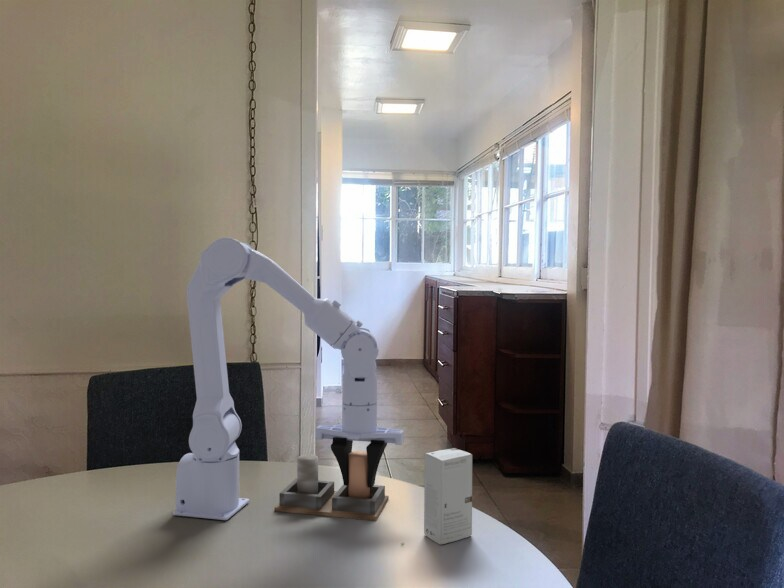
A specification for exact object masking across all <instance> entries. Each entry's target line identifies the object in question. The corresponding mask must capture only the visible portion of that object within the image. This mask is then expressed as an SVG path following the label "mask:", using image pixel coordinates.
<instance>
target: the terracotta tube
mask: <svg viewBox="0 0 784 588" xmlns="http://www.w3.org/2000/svg"><path fill="white" fill-rule="evenodd" d="M367 479H368V459H367V451H366V450H365V451H364V450H353V451H352V452H350V453H349V497H351V498H362V499H368V498H369V497H370V487H368V484H367Z"/></svg>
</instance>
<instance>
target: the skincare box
mask: <svg viewBox="0 0 784 588" xmlns="http://www.w3.org/2000/svg"><path fill="white" fill-rule="evenodd" d="M423 490H424V492H423V493H424V501H423V502H424V503H423V504H424V505H423V510H424V512H423V517H424V518H423V534H424V536H426V537H427V538H429V539H430V540H432V541H433V542H434V543H436V544H438V545H439V546H440V545H445V544H448V543H452V542H456V541H460V540H462V539H467V538H469V537H471V536H472V535H473V454H472V453H470V452H468V451H465V450H461V449H458V448H456V447H453V448H447V449H439V450H436V451H435V450H434V451H432V452H431V451H430V452H425V454H424V489H423Z"/></svg>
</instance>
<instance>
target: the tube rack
mask: <svg viewBox="0 0 784 588" xmlns="http://www.w3.org/2000/svg"><path fill="white" fill-rule="evenodd" d="M296 460H297V461H296V464H297V465H296V467H297V468H296V469H297V470H296V473H297V474H296V475H297V476H296V477H297V478H295V479H293V480H292V481H291V482H290V483H289V484H288V485H287V486H286V487H285V488H283V489H282V490H281V491H280V492H279V501H278V502H279V503H277V504H276V505H275V506H274V512H281V513H282V512H283V513H289V514H290V513H291V514H292V513H293V514H302V515H303V514H304V515H311V516H312V515H314V516H321V517H322V516H325V517H334V518H345V519H354V520H366V521H375V522H376V521H377V520H378V518H379V516H380V515H381V513H382V512H383V509H384V508H385V506H386V504H387V503H388V501H389V500H390V499H389V495H386V486H385V485H378V484H374V485H373V487H372V488H370V497H369V498H368V499H362V498H351V497H349V485H348V486H346V485H344V483H343V484H342V485H341V486H340V488H339V489H338V490H337V491H336V490H335V481H329V480H328V481H327V480H319V456H318V455H316V454H303V455H299V456H297V459H296Z"/></svg>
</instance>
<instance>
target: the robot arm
mask: <svg viewBox="0 0 784 588" xmlns="http://www.w3.org/2000/svg"><path fill="white" fill-rule="evenodd" d="M243 280H250V281H255V282H260V283H264V284H266V285H267V286H268V287H269V288H271V289H272V290H274V291H275V292H277V294H279V295H280V296H281V297H283V298H284V299H285V300H287V301H288V302H289V303H290V304H292V305H293V306H294V307H296V308H297V309H298V310H300V311H301V312H302V313H303V315H304V324H305V326H306V327H308V328H309V329H310V330H311V331H312V332H313V333H314V334H316V335H317V336H318V337H320V339H322V340H323V341H324V342H326V344H328V345H329V346H330V347H332V348H333V349H335V350H340V354H341V357H342V359H343V364H344V365H343V374H342V376H341V377H342V385H341V386H342V387H341V389H342V394H341V395H342V396H341V397H342V399H341V400H342V401H341V402H342V404H341V405H342V406H341V408H342V409H341V410H342V412H341V415H342V416H341V424H342V425H341V424H335V425H333V424H332V425H331V424H329V425H327V424H326V425H325V424H324V425H322V424H320V425H318V426H317V427H315V440H321V441H322V440H324V439H325V440H332V441H331V442H332V443H331V444H330V449H331V452H332V454H333V456H334V457H335V459H336V462H337V463H338V467H339V469H340V473H341V476H342V477H341V478H342V481H343V484H344V485H346V486H348V485H349V453H350V452H353V443H354V442H367V443H368V442H370V443H368V444H367V446H366V449H365V451H366V452H367V459H368V479H367V484H368V487H370V488H372V487H373V485H376V484H375V483H376V476H377V471H378V468H379V464H380V461H381V460H382V456H383V454H384V452H385V450H386V447H387V445H388V444H394V445H396V446H398V445H399V446H402V444H403V443H404V435H405V434H404V432H405V431H404V429H395V428H389V427H382V426H377V425H378V424H377V423H378V419H377V418H378V375H377V373H376V371H377V369H378V368H377V362H376V360H377V359H378V358H377V357H378V355H379V352H380V351H379V348H378V343H377V342H378V341H377V340H376V337H375V336H374V334H373V333H372V332H371V331H370V329H368V328H364V327H362V326H363V323H362V322H361V321H360V320H359V319H358V320H357V321H356V320H355V319H353V318H352V317H351V316H350V315H349V314H348V313H346V312H345V311H344V310H343V309H342V308H341V305H342V303H340V302H339V301H338V300H337V299H334V300H333V301H332V300H331V299H330V298H328V297H322V298H316V297H315V296H314V295H313V294H312V293H310V291H308V290H307V289H306V288H305V287H304V286H303V285H302V284H300V283H299V282H298V281H297V280H296V279H295V278H293V277H292V275H290V274H289V273H288V272H287V271H286V270H285V269H283V268H282V267H281V266H280V265H279V264H278V263H277V262H275V260H273V259H271V258H270V257H268V256H266V254H263V253H262V252H260V251H259V250H255V249H254V247H253V246H252V245H250V244H249V243H246V242H244V241H239V240H238V239H235V238H232V237H221V238H218V239H216V240H215V241H213V242H212V243H211V244H210V245H208V246H207V247H206V248H205V249H204V250H202V252H201V253H200V257H199V262H198V265H197V266H196V268H195V270H194V272H193V274H192V277H191V279H190V280H189V283H187V287H186V301H187V311H188V312H187V313H188V321H189V322H188V323H189V333H190V342H191V351H192V352H191V353H192V362H193V375H194V383H195V394H196V395H195V396H196V401H195V405H194V409H193V412H192V428H191V430H190V432H189V435H188V446H189V449H190V451H191V452H188V453H186V454H184V455H183V456H182V457H181V458H180V460H179V462H178V463H177V467H176V472H175V510H174V511H173V512H172V515H173V516H178V517H181V516H182V517H189V518H202V519H208V520H209V519H210V520H211V519H212V520H220V521H221V520H222V521H227V520H229V519H230V518H231V517H232V516H234V515H235V514H236V513H238V512H239V511H240V510H241V509H242V508H244V506H245V505H247V504H248V503H250V498H244V497H243V498H242V497H240V449H239V448H238V446H237V443H236V440H237V439H238V438H239V437H240V434H241V433H242V427H243V424H242V420H241V418H240V416H239V415H238V413H237V411H236V410H235V402H234V401H235V400H234V399H233V397H232V396H231V393H230V387H229V386H230V385H229V377H228V376H229V375H228V366H227V357H226V354H227V353H226V344H225V335H224V326H223V325H224V324H223V314H222V306H221V305H222V303H221V300H222V298H223V297H224V296H225V295H226V294H227V293H228V292H229V290H230V289H232V288H233V286H234V285H236V284H237V283H239V282H241V281H243Z"/></svg>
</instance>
